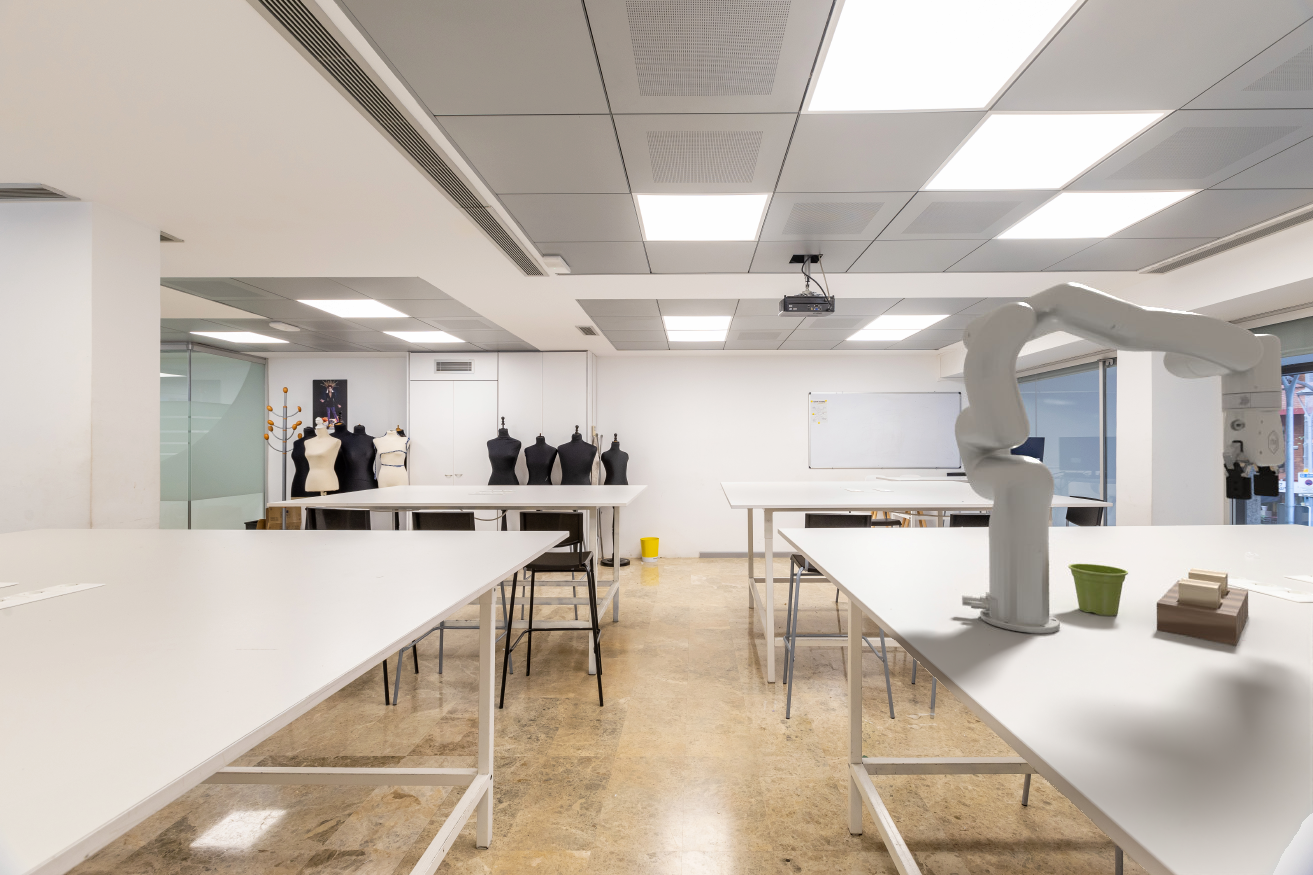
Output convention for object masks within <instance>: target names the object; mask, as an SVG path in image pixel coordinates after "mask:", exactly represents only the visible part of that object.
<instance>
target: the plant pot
mask: <svg viewBox="0 0 1313 875" xmlns="http://www.w3.org/2000/svg"><path fill="white" fill-rule="evenodd" d="M1068 569H1070V572H1071V575H1072V578H1073V580H1074V587H1075V591H1076V598H1077V603H1078V609H1079V610H1080V611H1083V612H1085V613H1094V614H1096V615H1099V616H1110V617H1111V616H1115V615H1118V613H1119V608H1120V604H1121V603H1120V601H1121V594H1122V589H1123V583H1124V581H1125V580H1126V576H1127V575H1129V571H1128V570H1126V569H1123V568H1120V567H1115V566H1110V565H1103V564H1102V565H1101V564H1092V563H1072V564H1068Z"/></svg>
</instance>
